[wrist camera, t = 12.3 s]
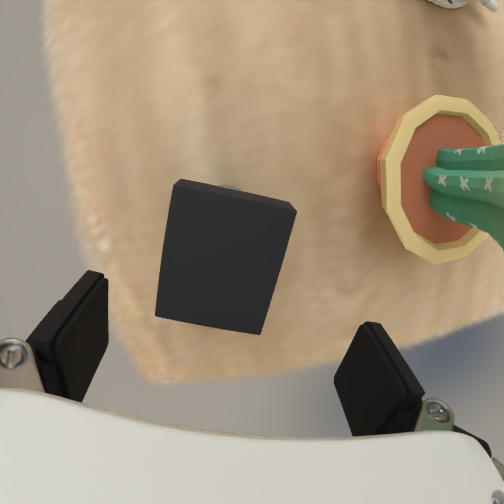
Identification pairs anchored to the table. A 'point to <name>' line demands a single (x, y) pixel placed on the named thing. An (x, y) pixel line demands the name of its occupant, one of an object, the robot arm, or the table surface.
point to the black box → (221, 256)
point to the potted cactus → (443, 179)
